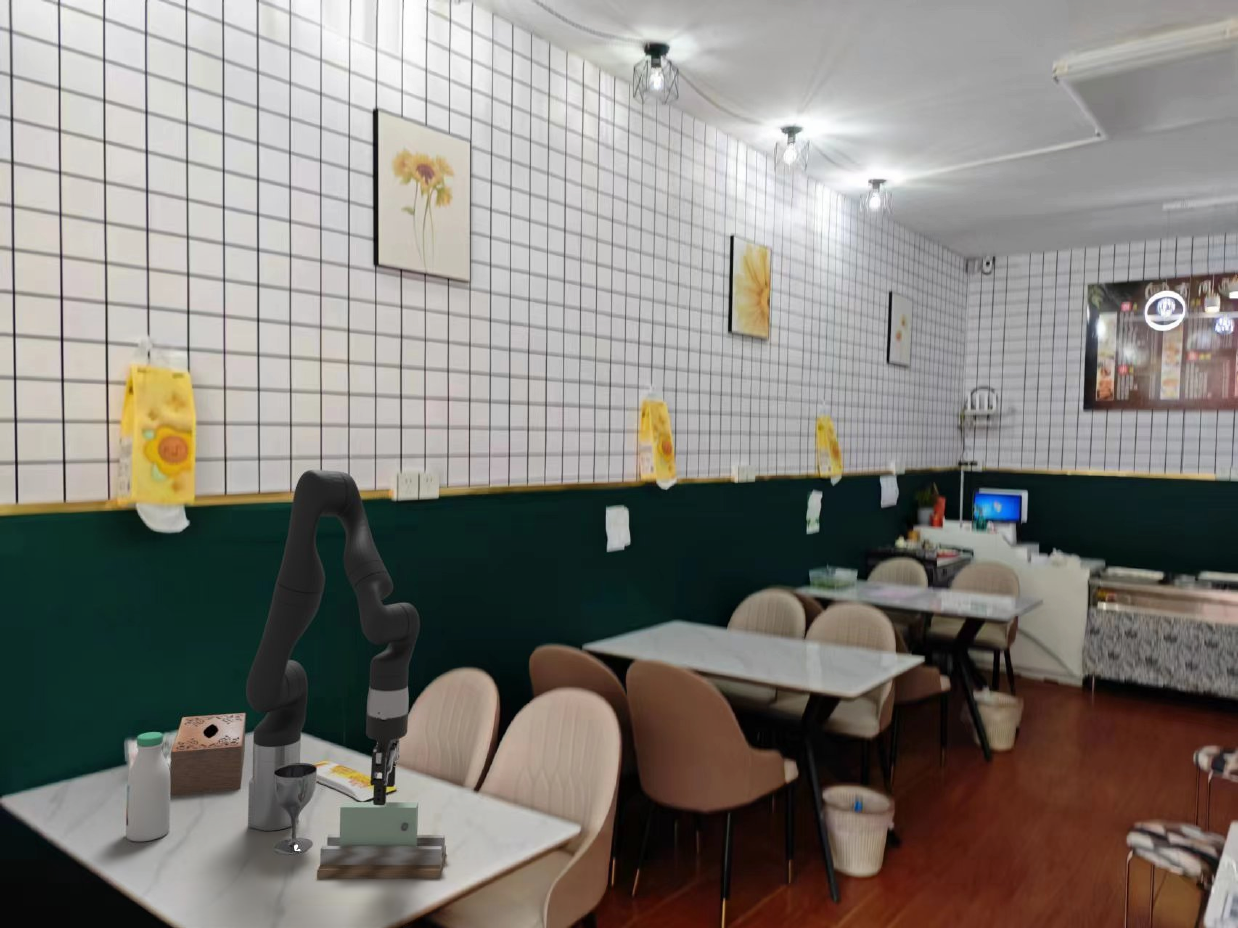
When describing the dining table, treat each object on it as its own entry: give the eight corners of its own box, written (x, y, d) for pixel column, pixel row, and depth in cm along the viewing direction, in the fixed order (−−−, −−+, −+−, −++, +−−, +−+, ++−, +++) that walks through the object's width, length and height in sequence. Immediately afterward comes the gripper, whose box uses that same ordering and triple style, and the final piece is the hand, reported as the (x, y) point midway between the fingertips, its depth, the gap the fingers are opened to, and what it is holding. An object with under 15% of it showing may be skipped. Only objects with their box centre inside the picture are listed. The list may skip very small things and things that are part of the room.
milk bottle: (178, 829, 179) (180, 731, 179) (146, 845, 172) (149, 743, 172) (148, 823, 182) (151, 726, 182) (116, 838, 175) (118, 737, 174)
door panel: (337, 862, 165) (339, 808, 165) (342, 854, 168) (343, 801, 168) (414, 862, 166) (415, 809, 166) (416, 854, 169) (418, 802, 169)
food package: (398, 783, 203) (362, 796, 195) (398, 793, 203) (362, 806, 195) (326, 755, 219) (290, 766, 211) (326, 764, 219) (290, 776, 211)
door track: (316, 878, 162) (317, 853, 161) (331, 852, 172) (331, 829, 171) (438, 878, 163) (439, 854, 163) (445, 853, 173) (446, 830, 173)
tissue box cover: (240, 789, 201) (241, 745, 201) (169, 796, 196) (170, 751, 196) (244, 751, 226) (245, 712, 225) (181, 757, 220) (182, 717, 220)
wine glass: (289, 859, 169) (291, 780, 168) (263, 847, 173) (265, 771, 172) (323, 843, 175) (325, 768, 175) (297, 833, 180) (299, 760, 179)
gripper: (375, 698, 173) (372, 780, 174) (358, 721, 159) (355, 810, 160) (414, 699, 174) (410, 781, 174) (400, 722, 160) (397, 811, 160)
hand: (384, 795), depth 167 cm, fingers open, 8 cm apart
